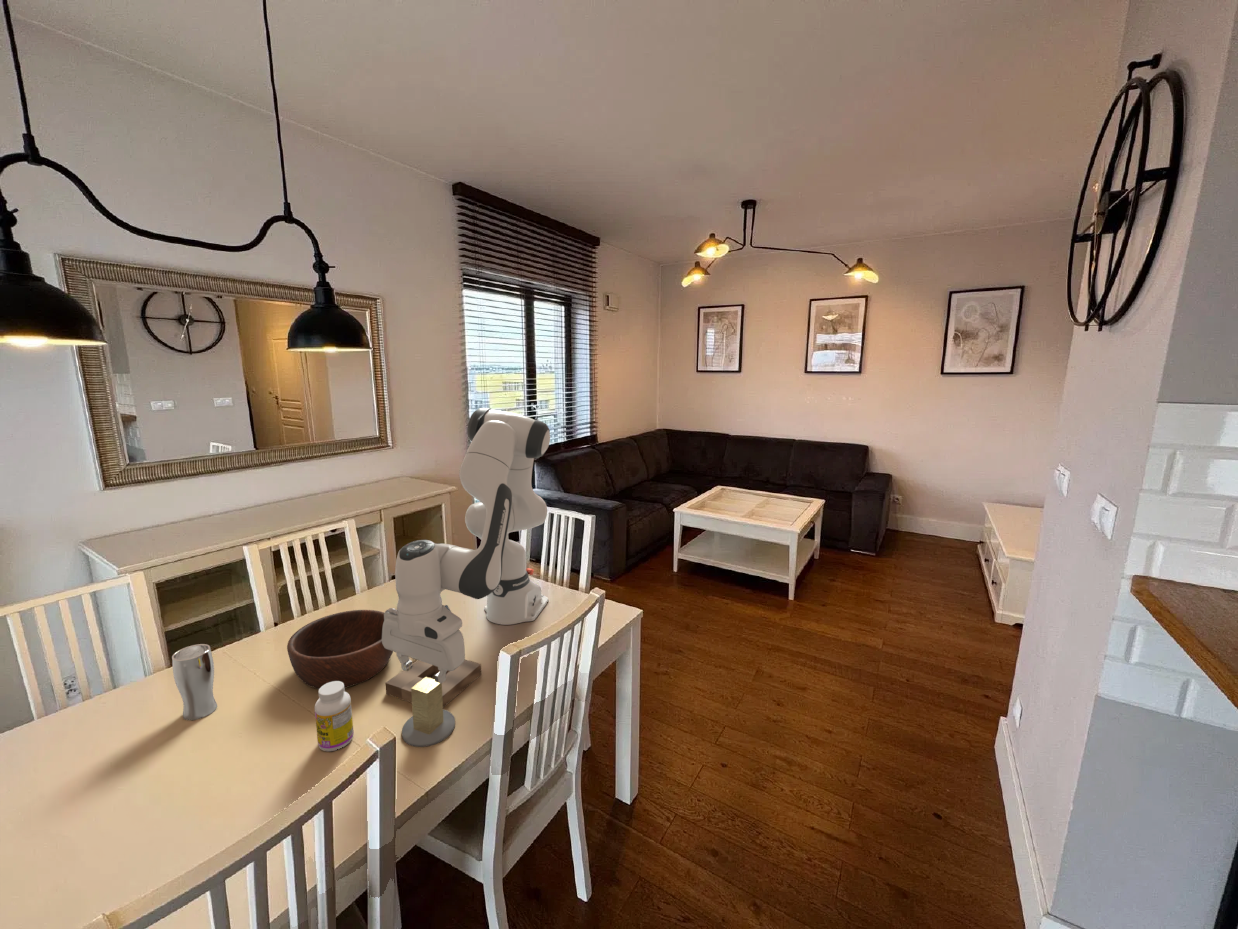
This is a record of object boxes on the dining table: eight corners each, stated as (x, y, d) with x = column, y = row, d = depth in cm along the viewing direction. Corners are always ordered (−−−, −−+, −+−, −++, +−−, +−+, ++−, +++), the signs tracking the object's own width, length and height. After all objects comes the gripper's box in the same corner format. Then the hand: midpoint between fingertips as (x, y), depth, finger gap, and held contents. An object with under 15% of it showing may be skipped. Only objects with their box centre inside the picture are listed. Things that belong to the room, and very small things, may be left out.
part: (428, 716, 115) (426, 676, 113) (443, 722, 113) (441, 681, 111) (413, 729, 111) (411, 688, 109) (429, 734, 109) (427, 693, 107)
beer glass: (176, 725, 111) (166, 664, 108) (185, 706, 117) (175, 647, 114) (216, 716, 114) (207, 656, 111) (222, 698, 120) (214, 640, 117)
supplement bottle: (313, 742, 107) (307, 688, 105) (346, 726, 112) (341, 673, 110) (325, 758, 103) (320, 702, 100) (359, 740, 108) (354, 687, 105)
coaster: (427, 706, 119) (427, 703, 119) (465, 720, 115) (465, 717, 115) (390, 737, 109) (390, 734, 109) (430, 753, 105) (430, 750, 105)
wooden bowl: (340, 636, 148) (337, 604, 146) (417, 648, 143) (415, 615, 141) (265, 689, 124) (261, 651, 122) (355, 705, 119) (351, 665, 117)
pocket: (433, 659, 138) (432, 649, 137) (481, 674, 132) (481, 664, 131) (386, 693, 123) (385, 682, 123) (437, 712, 117) (437, 700, 117)
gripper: (372, 612, 108) (376, 670, 111) (447, 636, 100) (449, 697, 103) (395, 600, 114) (399, 655, 117) (468, 621, 106) (470, 680, 109)
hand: (423, 675), depth 110 cm, fingers open, 8 cm apart
